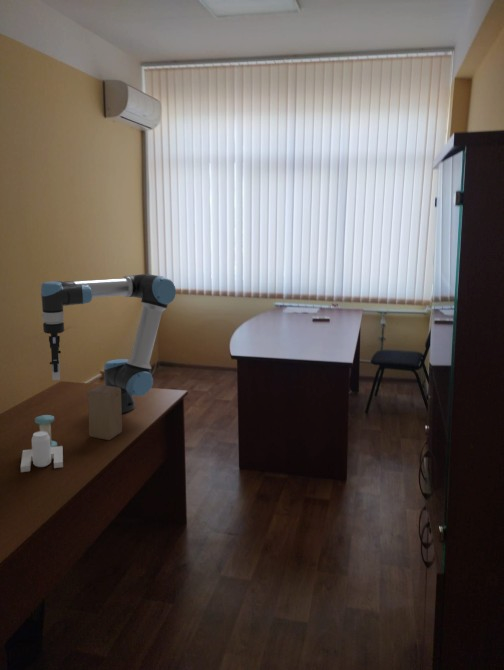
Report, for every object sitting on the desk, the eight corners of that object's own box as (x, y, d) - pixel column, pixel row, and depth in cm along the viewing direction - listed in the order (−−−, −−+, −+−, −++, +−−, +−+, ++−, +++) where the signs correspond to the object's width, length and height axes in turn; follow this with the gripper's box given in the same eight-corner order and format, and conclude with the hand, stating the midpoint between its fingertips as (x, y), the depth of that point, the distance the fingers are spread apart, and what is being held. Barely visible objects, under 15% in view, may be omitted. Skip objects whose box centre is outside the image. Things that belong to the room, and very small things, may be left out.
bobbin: (57, 441, 214) (55, 413, 211) (57, 450, 207) (55, 421, 204) (35, 444, 212) (33, 415, 209) (34, 452, 204) (32, 423, 202)
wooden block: (123, 432, 225) (121, 386, 221) (109, 441, 216) (107, 394, 212) (102, 428, 228) (101, 383, 224) (88, 437, 219) (86, 390, 215)
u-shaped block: (62, 450, 207) (62, 445, 206) (62, 467, 194) (62, 461, 193) (23, 455, 202) (23, 450, 202) (20, 472, 189) (20, 466, 189)
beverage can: (40, 469, 191) (38, 438, 188) (29, 465, 194) (27, 434, 192) (55, 463, 196) (53, 432, 194) (44, 459, 199) (42, 428, 197)
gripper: (43, 316, 218) (46, 366, 222) (42, 329, 195) (45, 385, 199) (63, 315, 220) (66, 365, 225) (64, 328, 197) (66, 383, 202)
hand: (56, 374), depth 212 cm, fingers open, 13 cm apart
